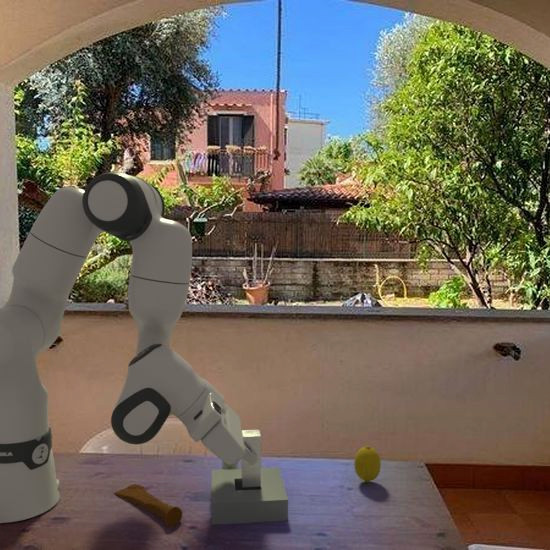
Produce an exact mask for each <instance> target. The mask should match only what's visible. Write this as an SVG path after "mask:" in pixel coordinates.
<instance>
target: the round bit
mask: <svg viewBox="0 0 550 550" xmlns="http://www.w3.org/2000/svg"><path fill="white" fill-rule="evenodd" d="M222 469H239V462H238V463H237V464H236V465H234V466H231V465H228V464H227V463H225V462H224V461H222V460H221V470H222Z"/></svg>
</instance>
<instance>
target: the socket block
mask: <svg viewBox="0 0 550 550" xmlns="http://www.w3.org/2000/svg"><path fill="white" fill-rule="evenodd" d="M284 521H285V522H286V521H289V498H288V495H287V491H286V488H285V485H284V481H283V477H282V474H281V470H280V467H279V466H272V467H269V466H268V467H261V487H244V488H243V487H242V470H241V468H238V469H222V468H221V469H212V470H211V526H212V525H214V526H215V525H231V524H233V525H234V524H250V523H265V522H267V523H268V522H269V523H270V522H284Z"/></svg>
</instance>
